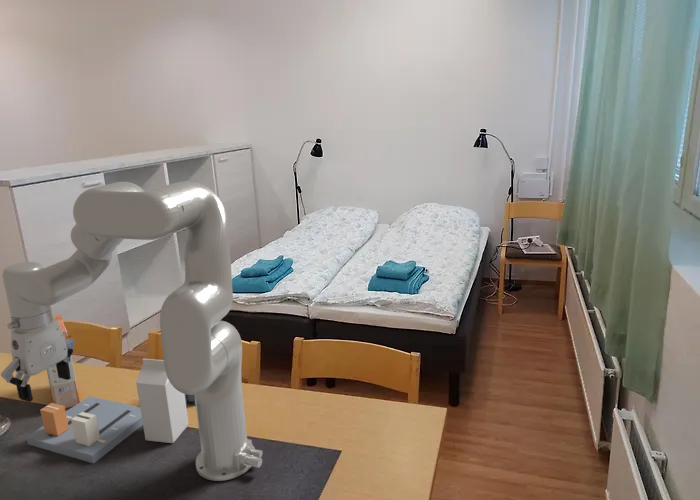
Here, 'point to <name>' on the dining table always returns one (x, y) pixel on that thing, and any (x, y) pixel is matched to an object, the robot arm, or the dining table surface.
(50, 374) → the cracker box
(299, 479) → the dining table surface
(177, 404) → the milk carton
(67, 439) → the fader console
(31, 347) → the robot arm
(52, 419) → the orange fader knob
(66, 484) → the dining table surface
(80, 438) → the cream knob
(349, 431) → the dining table surface
